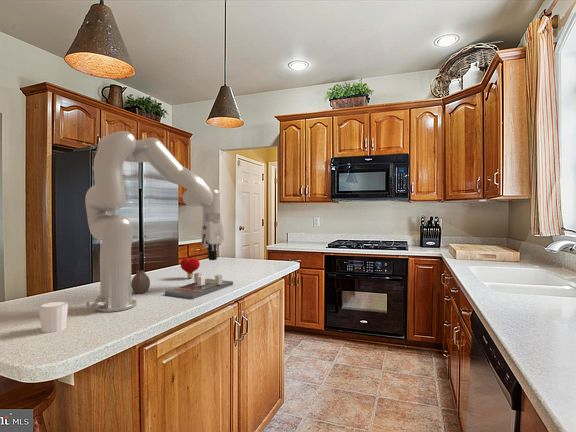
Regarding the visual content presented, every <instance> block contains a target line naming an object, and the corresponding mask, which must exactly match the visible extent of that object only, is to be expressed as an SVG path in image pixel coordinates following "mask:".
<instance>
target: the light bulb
mask: <svg viewBox="0 0 576 432" xmlns="http://www.w3.org/2000/svg"><path fill="white" fill-rule="evenodd" d="M200 267H201V262H200V260H199V259H198V258H197V257H193V258H190V257H184V258H183V259H181V261H180V268H181V269H182V270H183V271H184V272H186V273H187V278H188V279H192V278H194V273H195V271H197V270H198V269H199V268H200Z"/></svg>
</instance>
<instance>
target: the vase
mask: <svg viewBox="0 0 576 432" xmlns="http://www.w3.org/2000/svg"><path fill="white" fill-rule="evenodd" d="M131 283H132V291H133V292H134V293H135V294H137V295H138V294H139V295H140V294H142V295H143V294H146V293H147V292H148V291H149V289H150V287H151V281H150V277H149V276H148V275H147V273H146V272H145V271H144V270H142V269H141V270H137V271H136V273H135V275H134V276H133V277H132V278H131Z"/></svg>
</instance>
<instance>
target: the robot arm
mask: <svg viewBox="0 0 576 432" xmlns="http://www.w3.org/2000/svg"><path fill="white" fill-rule="evenodd" d="M135 137H136V136H135V135H134V134H133V133H131V132H130V131H127V130H121V131H115V132H112V133H110V134H107V135H105V136H103V137H101V138H100V139H99V141H98V144H97V151H96V153H95V156H94V160H93V174H94V175H93V177H94V185H93V186H91V187H89V189H88V190H87V191H86V194H85V199H84V200H85V209H86V210H85V211H86V217H87V223H88V228H89V229H88V230H89V232H90V234H91V235H92V237H93V238H94V239H95V240H98V241H100V242H101V245H100V250H99V268H100V269H99V274H100V275H99V277H100V278H99V280H100V281H99V284H100V285H99V290H100V291H99V292H100V295H97V298H95V299H94V300H91V301H90V300H89V301H87V302H86V303H85V304H86V308H88V309H89V308H93V307H95V308H94V309H95V311H97V312H100V313H101V312H103V313H104V312H105V313H110V312H121V311H125V310H129V309H132V308H133V307H136V306H137V303H138V302H137V300H136V299H133V298H132V296H133V294H132V291H133V290H132V283H131V282H132V246H133V245H132V244H133V239H134V226H133V223H132V221H131V220H130V219H129V218H128V217H126V216H124V215H121V214H116V211H118V210H120V209H122V208H123V207H124V206H125V204H126V189H125V184H124V176H123V175H124V173H123V168H124V167H123V166H124V163H125V162H129V163H149V164H150V166H152V167H153V169H155V171H156V172H157V173H159V175H160V176H161V177H162V178H163V179H164V180H165V181H167V182H169V183H172V184H173V185H174V184H175V185H178V186H180V187H183V188H184V189H185V191H184V192H183V193H182V201H183V203H184V204H185V205H186V206H189V207H192V208H193V207H196V208H197V207H201V209H202V223H201V234H200V236H201V244H203V245H202V247H203V248H205V249H206V251H208V253H207V254H208V261H217V259H218V257H217V256H218V255H217V253H218V252H217V251H218V248H219V246H221V244H222V243H223V242H224V230H223V229H224V227H223V222H222V220H221V195H220V194H221V192H220V191H219V190H218V189H215V188H212V189H211V188H210V186H209V185H208V184H207V183H206V182H205V180H203V178H201V177H200V176H199V175H197V174H196V173H194V172H193V171H192V170H190V169H188V168H187V167H185V166H184V165H182V164H181V163H180V162H179V161H178V159H177V158H176V157H175V156H174V155H173V153H171V151H170V150H169V149H168V148H167V146H165V144H163V142H162V141H161V140H159V139H158V138H156V137H146V138H143V139H136V138H135Z"/></svg>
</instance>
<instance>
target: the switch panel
mask: <svg viewBox="0 0 576 432" xmlns="http://www.w3.org/2000/svg"><path fill="white" fill-rule="evenodd" d="M197 276H203V275H202V272H196V273H195V272H194V273H193V282H191V283H189V284H186V285H182V286H178V287H175V288H171V289H167V290H165V291H164V296H170V297H175V298H183V299H192V300H193V299H197V298H199V297H203V296H205V295H208V294H211V293H215V292H217V291H219V290H223V289H225V288H228V287H231V286H233V285H234V281H232V280H223V275H222V274H216V275H214V278H213V279H212V278H205V285H202V286H200V285H197Z"/></svg>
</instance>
